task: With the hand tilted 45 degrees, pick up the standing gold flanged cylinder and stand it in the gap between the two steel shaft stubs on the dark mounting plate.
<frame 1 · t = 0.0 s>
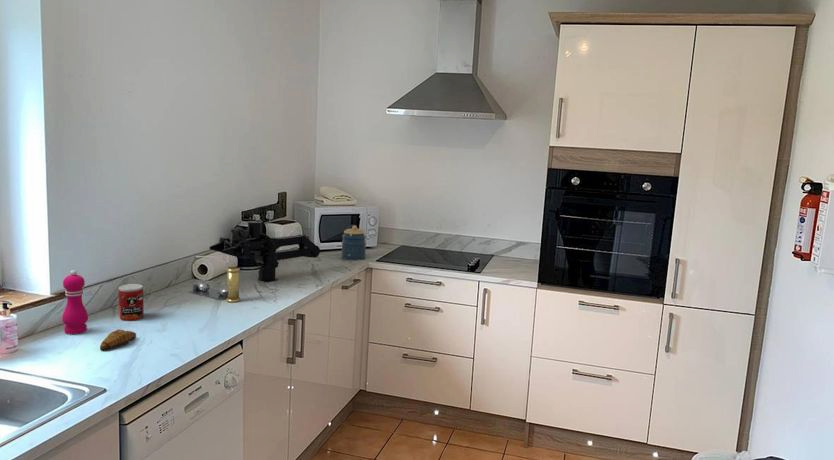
hand: (215, 249, 249), 17 cm above the worktop, tool horizontal, fingers open, 9 cm apart
gold flanged cylinder: (233, 300, 236), on the worktop
shaft bed: (213, 293, 245), on the worktop
pepper mill: (75, 331, 195), on the worktop
croissant: (119, 345, 185), on the worktop
canned food: (131, 318, 211), on the worktop
canister: (353, 258, 327), on the worktop
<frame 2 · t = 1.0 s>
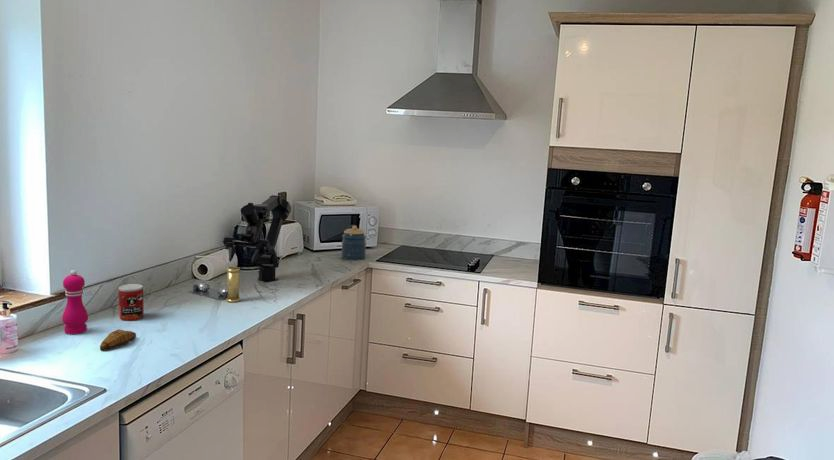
hand: (240, 261, 242), 14 cm above the worktop, tool tilted 45°, fingers open, 9 cm apart
nothing on the worktop moved.
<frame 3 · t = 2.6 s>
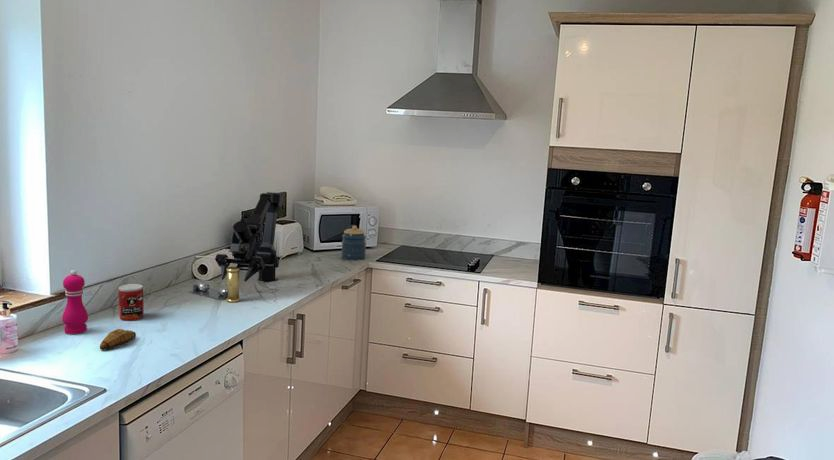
hand: (233, 280, 235), 8 cm above the worktop, tool tilted 45°, fingers open, 9 cm apart
nothing on the worktop moved.
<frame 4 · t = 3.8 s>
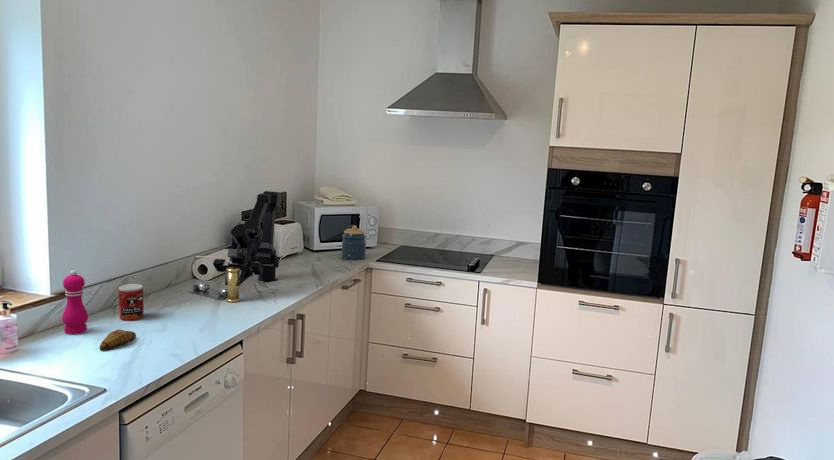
hand: (231, 285, 234), 7 cm above the worktop, tool tilted 45°, fingers closed on gold flanged cylinder, 4 cm apart
gold flanged cylinder: (233, 300, 236), on the worktop, touching gripper
everything else where it was.
when the fingers open (8 cm above the worktop, at t = 7.5 s): gold flanged cylinder stays where it is, resting on shaft bed.
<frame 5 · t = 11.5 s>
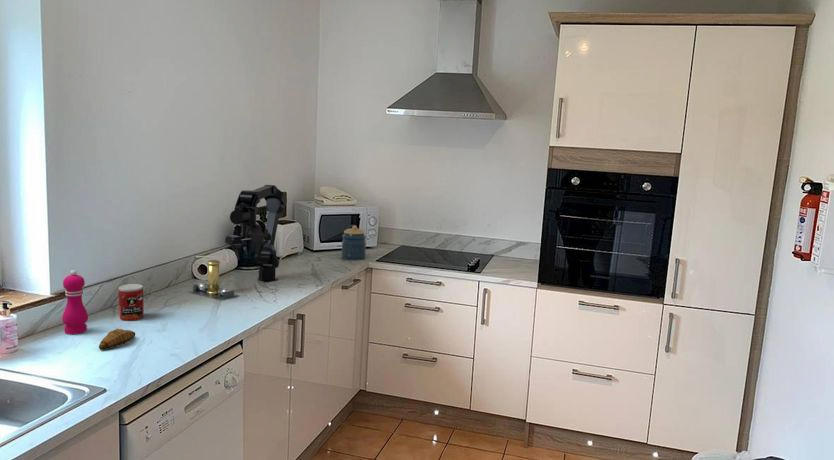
hand: (248, 258, 253), 13 cm above the worktop, tool pointing down, fingers open, 9 cm apart
gold flanged cylinder: (213, 293, 245), resting on shaft bed
everything else where it was.
at the end: gold flanged cylinder 0.1 cm off-centre on the shaft bed, point 0.3 cm above the shaft bed's base; gold flanged cylinder tilted 0°; the gripper is holding nothing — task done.
